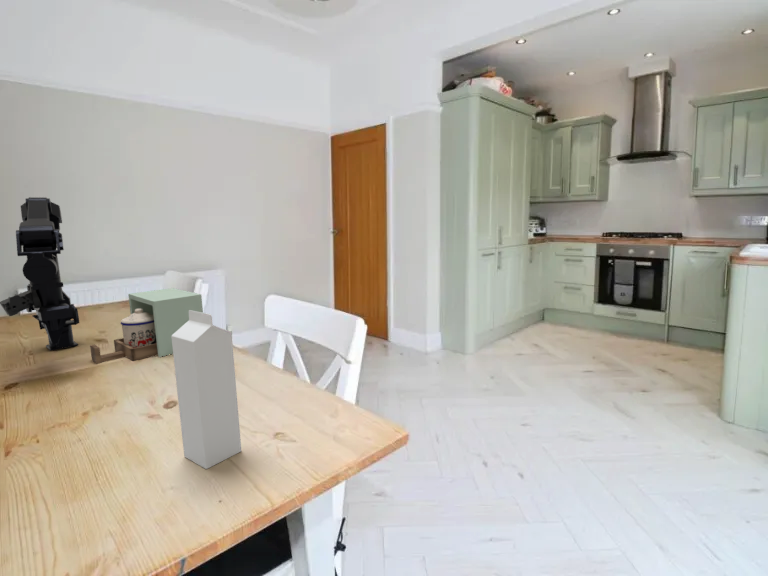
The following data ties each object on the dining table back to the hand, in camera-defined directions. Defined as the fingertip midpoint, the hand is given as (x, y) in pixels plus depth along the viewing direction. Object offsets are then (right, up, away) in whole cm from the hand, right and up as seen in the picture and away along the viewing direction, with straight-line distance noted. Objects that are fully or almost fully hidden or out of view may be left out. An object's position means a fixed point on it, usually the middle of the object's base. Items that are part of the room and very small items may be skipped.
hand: (54, 343), depth 104 cm
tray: (+13, -4, +15) cm, 20 cm away
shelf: (+18, -3, +20) cm, 27 cm away
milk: (+53, -12, -38) cm, 66 cm away
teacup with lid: (+14, -4, +17) cm, 22 cm away
